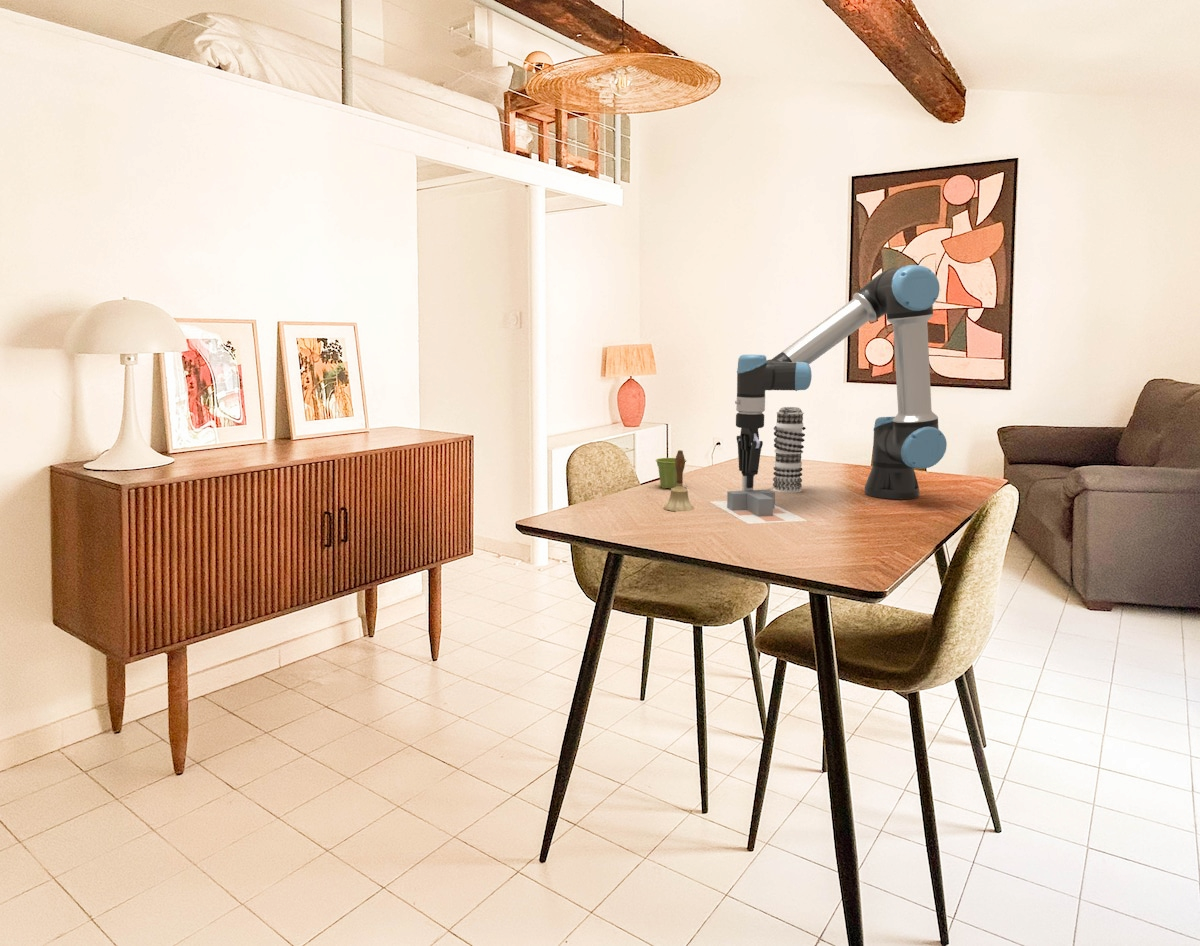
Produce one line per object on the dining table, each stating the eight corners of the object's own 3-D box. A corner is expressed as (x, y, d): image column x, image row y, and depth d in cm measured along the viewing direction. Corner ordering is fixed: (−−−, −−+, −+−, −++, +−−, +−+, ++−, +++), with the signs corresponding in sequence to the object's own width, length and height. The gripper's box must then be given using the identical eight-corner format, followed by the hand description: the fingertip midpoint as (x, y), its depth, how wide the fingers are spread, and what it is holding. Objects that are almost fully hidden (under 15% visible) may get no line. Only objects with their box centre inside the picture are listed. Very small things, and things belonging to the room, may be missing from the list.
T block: (768, 505, 228) (769, 489, 228) (786, 515, 217) (787, 498, 216) (727, 507, 226) (727, 491, 225) (743, 517, 214) (744, 499, 214)
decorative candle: (778, 486, 258) (781, 405, 254) (807, 489, 253) (811, 407, 249) (766, 490, 251) (769, 408, 247) (795, 494, 245) (798, 409, 241)
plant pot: (649, 486, 258) (650, 458, 257) (676, 483, 262) (676, 456, 261) (664, 491, 250) (665, 462, 249) (691, 489, 254) (692, 460, 253)
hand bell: (700, 508, 226) (701, 450, 223) (681, 513, 220) (682, 453, 217) (676, 504, 232) (677, 447, 229) (657, 508, 226) (657, 450, 223)
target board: (762, 499, 237) (762, 499, 237) (807, 521, 210) (807, 520, 210) (709, 502, 234) (709, 501, 234) (748, 524, 207) (748, 523, 207)
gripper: (728, 410, 229) (725, 494, 233) (746, 415, 217) (743, 504, 221) (754, 410, 231) (751, 493, 235) (773, 414, 218) (769, 503, 222)
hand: (747, 498), depth 228 cm, fingers closed
